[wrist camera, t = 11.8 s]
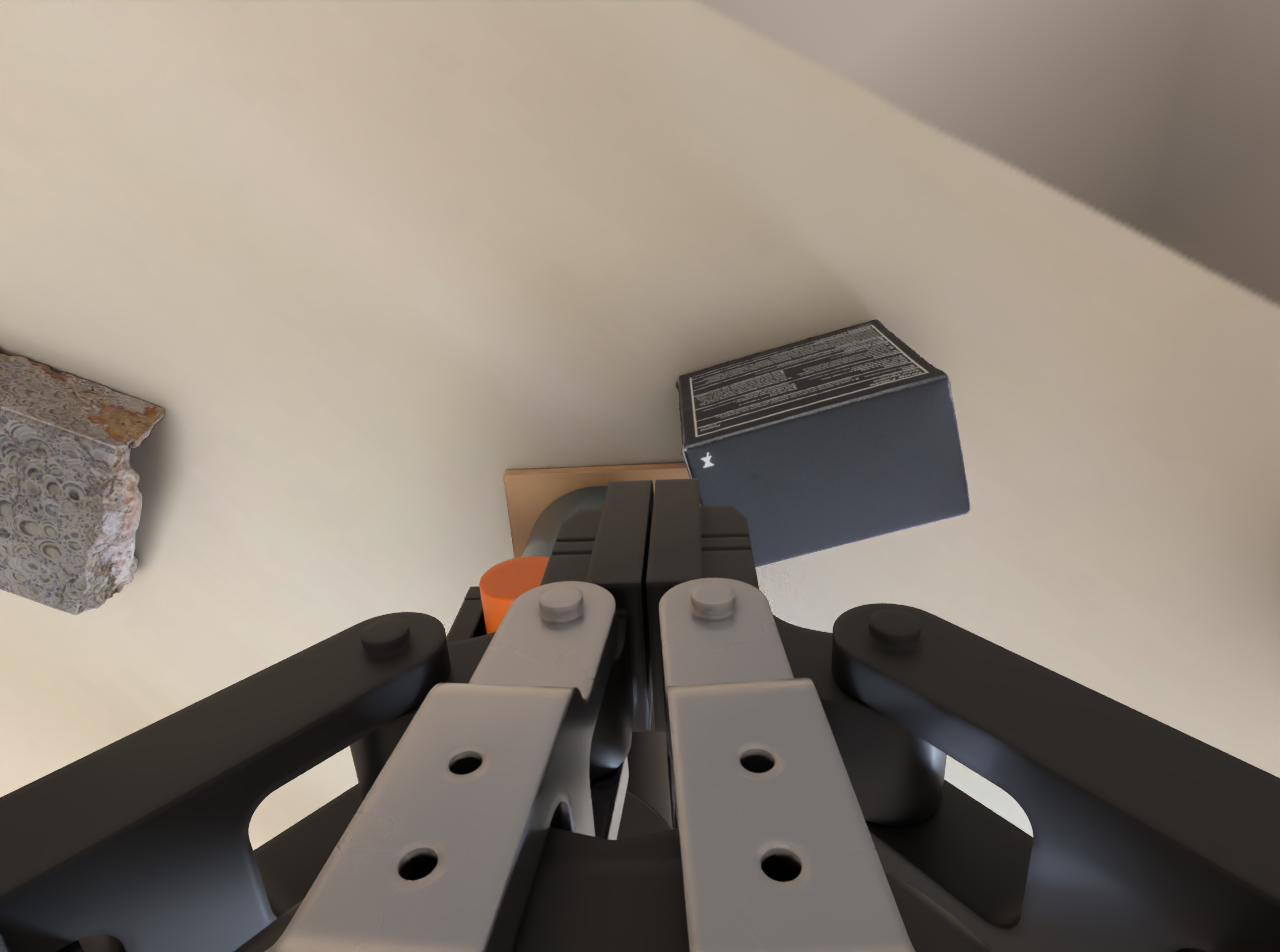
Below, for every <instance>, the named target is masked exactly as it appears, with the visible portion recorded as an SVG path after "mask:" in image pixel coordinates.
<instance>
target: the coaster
mask: <svg viewBox="0 0 1280 952" xmlns="http://www.w3.org/2000/svg"><path fill="white" fill-rule="evenodd" d="M661 479H690V477H689V473H688V471H687V467H686V464H685V463H665V464H641V465H617V466H593V467H570V468H546V469H522V470H506V472H505V474H504V484H505V491H506V498H507V506H508V513H509V520H510V528H511V535H512V543H513V550H514V557H515V558H520V557H521V556H522V554H523V551H524V549H525V546H526V544H527V541H528V539H529V536H530V533H531V531H532V528H533V526H534V524H535V522H536V520H537V519H538V517H539V516H540V514H541V513H542V512H543V511H544V509H546V508H547V507H548V506H549V505H550V504H551V503H552V502H553V501H555V500H556V499H558V498H559V497H561V496H563V495H565V494H567V493H569V492H572V491H574V490H577V489H581V488H586V487H593V486H608V484H609V481H634V480H652V481H653V489H654V492H655V482H656V480H661Z"/></svg>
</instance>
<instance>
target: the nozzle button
mask: <svg viewBox="0 0 1280 952" xmlns="http://www.w3.org/2000/svg"><path fill="white" fill-rule="evenodd" d="M548 561H549V557H542V556H528V557H520V558H515V559H511V560H507V561H504V562H502V563H499V564H497V565H495V566H494V567H492V568H490V569H489V570H488V571H487V572H485V574H484V575H483V576H482V578H481V580H480V584H479V587H480V594H481V600H482V606H483V613H484V619H485V625H486V632H487V634H490V633H493V632H496V631H497V629H498V627H499V626H500V624H501V622H502V620H503V618H504V616H505V614H506V613H507V611H508V609H509V607H510V605H511V604H512V603H513V601H514V600H516V599H517V598H518V597H519V596H520V595H522V594H523V593H525V592H527V591H529V590H531V589H533V588H536V587H538V586H540V584H541V582H542V579H543V576H544V573H545V570H546V567H547V564H548Z"/></svg>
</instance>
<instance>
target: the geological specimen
mask: <svg viewBox="0 0 1280 952" xmlns="http://www.w3.org/2000/svg"><path fill="white" fill-rule="evenodd" d="M163 416H164V409H162V408H161V407H160V406H157V405H154V404H151V403H148V402H146V401H143V400H140V399H138V398H135V397H132V396H129V395H126V394H122V393H119V392H115V391H113V390H111V389H109V388H108V387H106V386H103V385H100V384H97V383H94V382H92V381H89V380H85V379H80V378H78V377H76V376H73V375H71V374H68V373H65V372H60V373H56V372H55V371H53V370H52V368H51V367H49V366H47V365H44V364H42V363H36V362H32V361H31V360H30V359H28V358H26V357H23V356H8V355H5V354H1V352H0V589H1V590H4V591H7V592H10V593H13V594H15V595H18V596H21V597H24V598H27V599H30V600H33V601H35V602H38V603H41V604H44V605H47V606H49V607H52V608H55V609H58V610H61V611H64V612H67V613H71V614H74V615H78V614H80V613H82V612H84V611H87V610H90V609H92V608H98V607H99V606H101V605H102V604H103V603H104V602H105V601H106V599H108V598H111V597H112V596H113V594H114V593H116V592H117V593H120V592H121V590H122V588H123V587H124V585H125V584H128V583H131V582H132V580H133V578H134V576H133V574H134V573H135V572H136V570H137V565H138V560H137V558H136V557H135V556H134V551H135V533H136V531H137V529H138V527H139V521H140V516H141V510H142V494H141V493H140V491H139V489H138V487H137V485H138V482H139V479H140V476H139V474H138V473H137V472H135V471H134V470H133V469H132V468H131V466H130V463H129V458H130V452H131V448H136V447H138V446H139V445H141V442H142V440H143V439H144V438H147V437H148V436H149V434H150V431H151V430H152V428H153V426H154V424H155V423H157V422H158V421H160V420H161V419H162V418H163Z"/></svg>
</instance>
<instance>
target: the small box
mask: <svg viewBox="0 0 1280 952" xmlns="http://www.w3.org/2000/svg"><path fill="white" fill-rule="evenodd" d="M676 387H677V389H678V392H679V406H680V408H679V409H680V420H681V432H682V450H681V454H682V456H683V458H684V461H685V464H686V467H687V471H688V473H689V477H690V479H692V478H699V498H700V506H733V507H734V508H735V509H736V510H737V511H739V512H740V513H741V514H742V515H743V516H744V517H746V518H747V523H748V529H749V537H750V541H751V546H752V552H753V558H754V563H755V567H759V566H763V565H766V564H770V563H774V562H778V561H782V560H786V559H789V558H793V557H797V556H801V555H805V554H809V553H813V552H817V551H821V550H824V549H828V548H832V547H836V546H840V545H844V544H848V543H852V542H856V541H860V540H864V539H868V538H872V537H876V536H880V535H884V534H888V533H892V532H895V531H899V530H903V529H907V528H911V527H915V526H919V525H923V524H927V523H932V522H936V521H939V520H943V519H948V518H952V517H956V516H960V515H963V514H967V513H969V511H970V502H969V494H968V486H967V480H966V475H965V468H964V462H963V455H962V450H961V445H960V439H959V433H958V427H957V421H956V416H955V410H954V405H953V399H952V393H951V387H950V382H949V378H948V376H947V375H946V374H945V373H944V372H943V371H941V370H939V369H936V368H935V367H934V366H933V365H931V364H929V363H928V362H926V361H925V360H924V359H923V358H922V357H920V356H919V355H918V354H917V353H916V352H915V351H914V350H912V349H911V348H909V347H908V346H907V345H906V344H905V343H903V342H902V341H901V340H900V339H899V338H897V337H896V336H895V335H894V334H893V333H892V332H890V331H889V330H887V328H885V327H884V326H883V324H882V323H881V322H879V321H878V320H873V321H870V322H867V323H863V324H859V325H856V326H852V327H848V328H845V329H841V330H838V331H835V332H831V333H828V334H824V335H821V336H817V337H813V338H809V339H806V340H804V341H800V342H796V343H793V344H789V345H786V346H783V347H779V348H776V349H772V350H769V351H765V352H762V353H756V354H754V355H751V356H748V357H744V358H741V359H738V360H734V361H731V362H727V363H724V364H720V365H717V366H714V367H710V368H707V369H704V370H701V371H697V372H694V373H691V374H687V375H683V376H680V377H679V379H678V381H677V383H676Z"/></svg>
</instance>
